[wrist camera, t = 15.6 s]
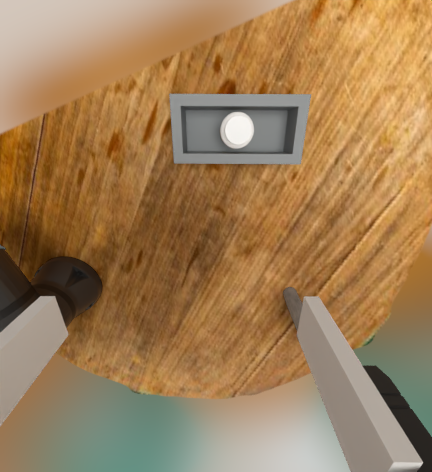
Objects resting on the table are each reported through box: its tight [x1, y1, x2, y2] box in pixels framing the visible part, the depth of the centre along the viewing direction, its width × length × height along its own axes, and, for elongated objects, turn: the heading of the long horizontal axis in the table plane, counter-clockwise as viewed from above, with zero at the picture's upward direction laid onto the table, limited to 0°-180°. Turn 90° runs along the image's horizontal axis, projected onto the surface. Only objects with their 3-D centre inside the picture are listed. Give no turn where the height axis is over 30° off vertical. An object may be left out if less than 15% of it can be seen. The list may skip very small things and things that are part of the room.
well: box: [169, 94, 311, 164], centre depth 40 cm, size 22×10×7 cm, turn 90°
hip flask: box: [283, 287, 303, 331], centre depth 51 cm, size 16×4×20 cm, turn 29°
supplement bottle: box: [220, 112, 254, 149], centre depth 38 cm, size 5×5×10 cm
